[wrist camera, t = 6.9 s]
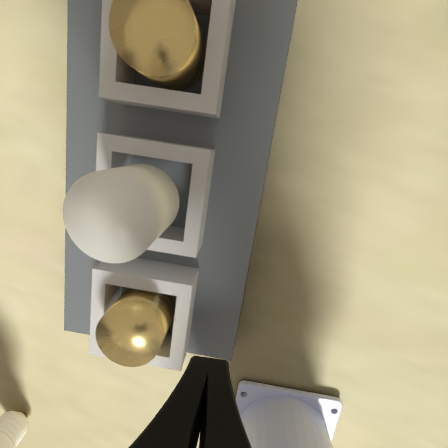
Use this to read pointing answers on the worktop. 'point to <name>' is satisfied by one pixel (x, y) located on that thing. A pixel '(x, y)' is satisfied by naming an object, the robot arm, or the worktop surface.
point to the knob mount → (178, 165)
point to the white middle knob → (120, 211)
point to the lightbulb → (12, 428)
